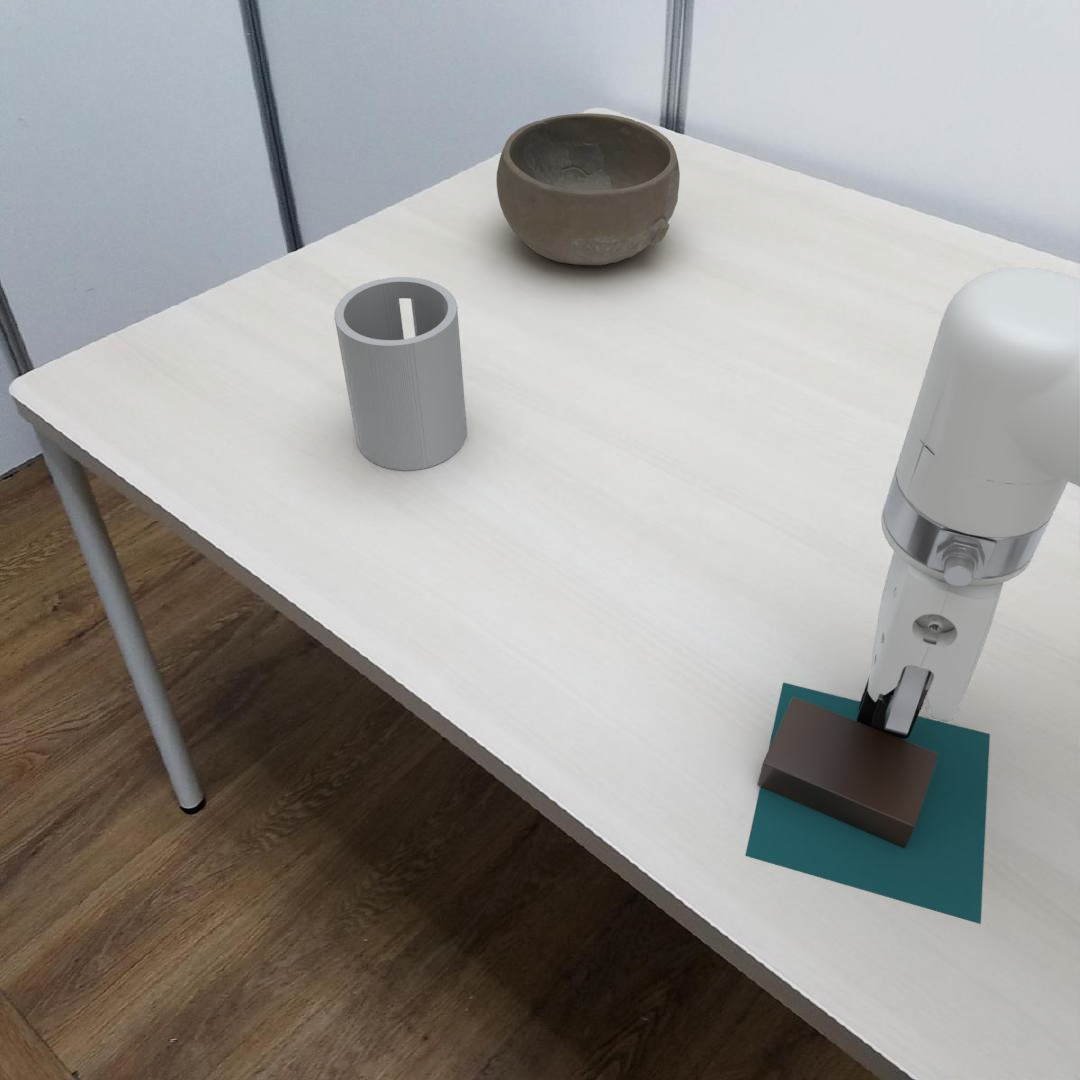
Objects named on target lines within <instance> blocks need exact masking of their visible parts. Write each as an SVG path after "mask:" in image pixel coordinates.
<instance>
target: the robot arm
mask: <svg viewBox="0 0 1080 1080" xmlns="http://www.w3.org/2000/svg"><path fill="white" fill-rule="evenodd" d="M922 379H923V380H922V383H921V386H920V389H919V392H918V395H917V399H916V402H915V405H914V409H913V411H912V415H911V419H910V422H909V425H908V427H907V428H908V429H907V431H906V434H905V437H904V441H903V444H902V447H901V451H900V454H899V457H898V460H897V464H896V466H895V470H894V474H893V476H892V480H891V483H890V486H889V490H888V493H887V495H886V499H885V502H884V505H883V508H882V512H881V517H880V523H881V530H882V532H883V535H884V538H885V540H886V541H887V543H888V545H889V546H890V548H891V549H892V550H893V553H892V557H891V560H890V563H889V566H888V570H887V573H886V578H885V581H884V586H883V590H882V595H881V598H880V604H879V609H878V613H877V621H876V627H875V633H874V640H873V646H872V653H871V660H870V667H869V675H868V678H867V680H866V684H865V687H864V689H863V692H862V696H861V698H860V700H859V701H860V705H859V713H858V716H857V722H860V723H862V724H865V725H867V726H870V727H872V728H875V729H877V730H880V731H882V732H885V733H888V734H890V735H893V736H895V737H898V738H902V739H906V738H908V737H909V736H910V733H911V731H912V729H913V726H914V724H915V722H916V719H917V717H918V716H920V715H919V714H920V712H921V709H922V708H923V705H924V703H925V699H926V698H927V699H926V700H927V703H928V707H929V712H930V715H931V717H932V718H931V719H933V720H937V721H942V722H950V721H951V720H954V718H956V717H957V715H958V713H959V711H960V708H961V706H962V703H963V701H964V698H965V695H966V693H967V690H968V688H969V685H970V683H971V680H972V677H973V675H974V672H975V670H976V667H977V665H978V662H979V660H980V657H981V654H982V652H983V649H984V646H985V644H986V640H987V638H988V635H989V632H990V630H991V626H992V623H993V621H994V617H995V614H996V611H997V607H998V604H999V601H1000V596H1001V593H1002V589H1003V585H1004V583H1005V582H1009V581H1011V580H1012V579H1014V578H1016V577H1018V576H1019V575H1021V574H1022V573H1023V572H1024V571H1025V570H1026V569H1027V568H1028V566H1029V565H1030V563H1031V562H1032V560H1033V557H1034V555H1035V553H1036V551H1037V549H1038V547H1039V545H1040V542H1041V540H1042V538H1043V536H1044V534H1045V532H1046V531H1047V528H1048V526H1049V523H1050V521H1051V519H1052V517H1053V515H1054V512H1055V511H1056V508H1057V506H1058V504H1059V502H1060V500H1061V498H1062V496H1063V494H1064V492H1065V489H1066V487H1067V485H1068V483H1070V484H1072V485H1074V486H1077V487H1079V488H1080V279H1079V278H1077V277H1074V276H1071V275H1069V274H1066V273H1063V272H1059V271H1054V270H1050V269H1044V268H1035V267H1009V268H1001V269H996V270H992V271H989V272H985V273H983V274H980V275H978V276H976V277H975V278H973V279H971V280H970V281H968V282H966V283H965V284H964V285H962V287H961V288H960V289H959V290H957V292H955V294H954V295H953V296H952V298H951V300H950V301H949V303H948V304H947V305H946V308H945V311H944V313H943V316H942V318H941V321H940V324H939V327H938V330H937V334H936V337H935V340H934V343H933V346H932V350H931V354H930V357H929V360H928V363H927V366H926V369H925V373H924V375H923V378H922Z"/></svg>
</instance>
